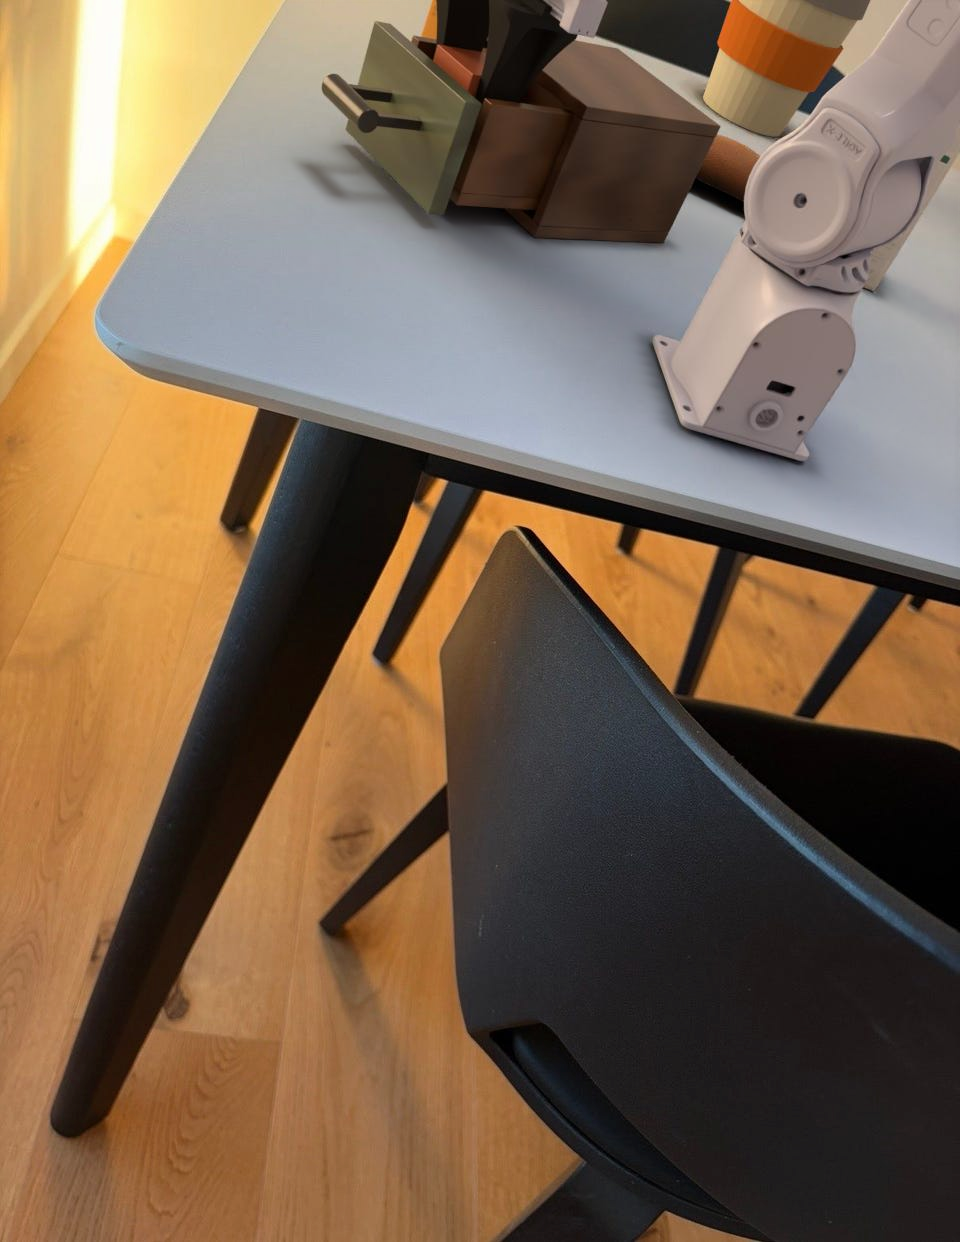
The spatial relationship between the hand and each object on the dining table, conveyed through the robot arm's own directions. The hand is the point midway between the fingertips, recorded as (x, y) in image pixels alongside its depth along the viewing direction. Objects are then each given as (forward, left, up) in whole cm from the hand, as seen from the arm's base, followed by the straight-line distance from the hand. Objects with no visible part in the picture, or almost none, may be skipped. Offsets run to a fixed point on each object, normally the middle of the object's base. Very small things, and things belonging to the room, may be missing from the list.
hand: (467, 105), depth 69 cm
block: (0, 0, -1) cm, 1 cm away
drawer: (-1, +1, -5) cm, 5 cm away
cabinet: (+5, -9, -6) cm, 12 cm away
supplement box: (+23, -1, -6) cm, 24 cm away
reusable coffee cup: (+45, -35, -6) cm, 57 cm away
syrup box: (+11, -35, -6) cm, 37 cm away
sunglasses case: (+21, -21, -6) cm, 30 cm away
